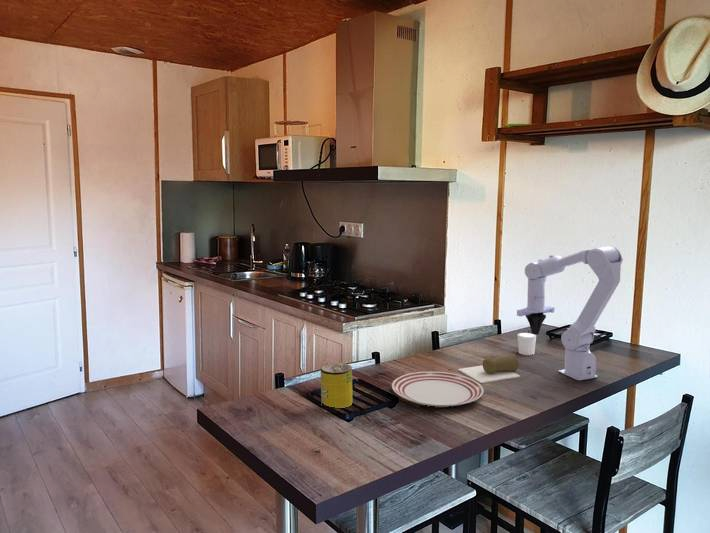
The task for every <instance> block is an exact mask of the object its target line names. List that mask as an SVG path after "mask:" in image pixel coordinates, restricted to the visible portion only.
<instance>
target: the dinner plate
mask: <svg viewBox="0 0 710 533" xmlns="http://www.w3.org/2000/svg"><path fill="white" fill-rule="evenodd" d="M391 388H392V391H393V392H394V394H396V395H397V396H399V398H400V397H401V398H402V399H404V400H406V401H409V402H411V403H414V404H417V405H422V406H425V405H427V406H426V407H430V406H435V407H434V408H450V407H449V406H451V407H455V406H456V407H457V406H461V405H465V404H469V403H472V402H475V401H477V400H479V399H480V398H481V397H483V394H484V388H483V386H482V385H481V383H479V382H477V381H476V380H474V379H472V378H470V377H469V376H466V375H465V376H464V375H462V374H457V373H452V372H445V371H418V372H417V371H416V372H410V373H406V374H404V375H401V376H398V377H397V378H395V379H394V380H393V381H392V384H391Z"/></svg>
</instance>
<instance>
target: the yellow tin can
mask: <svg viewBox="0 0 710 533" xmlns="http://www.w3.org/2000/svg"><path fill="white" fill-rule="evenodd" d="M352 369H353V368H352V365H350V364H349V363H345V362H331V363H326V364H323V365H321V367H320V391H321V392H320V393H321V394H320V396H321V397H320V398H321V404H322V403H323V404H324V405H326V406H329V407H335V408H345V407H349V406H351V405H352V403H354V401H353V373H352V372H353V370H352Z"/></svg>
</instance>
